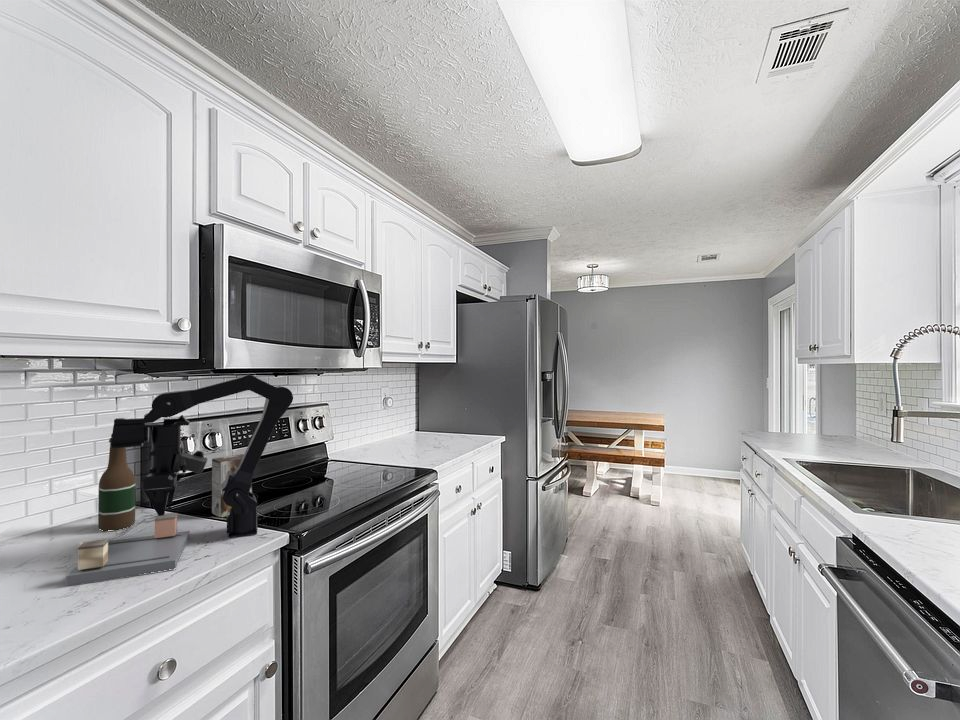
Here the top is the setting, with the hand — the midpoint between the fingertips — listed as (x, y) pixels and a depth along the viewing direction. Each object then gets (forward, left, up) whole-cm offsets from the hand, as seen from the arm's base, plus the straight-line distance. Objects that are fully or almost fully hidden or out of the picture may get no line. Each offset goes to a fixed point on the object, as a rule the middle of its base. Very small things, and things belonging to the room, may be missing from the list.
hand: (165, 509), depth 111 cm
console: (+4, +7, -9) cm, 12 cm away
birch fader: (+10, +14, -6) cm, 18 cm away
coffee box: (-13, -22, -9) cm, 27 cm away
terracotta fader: (0, 0, -6) cm, 6 cm away
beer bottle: (+14, -20, -9) cm, 26 cm away
